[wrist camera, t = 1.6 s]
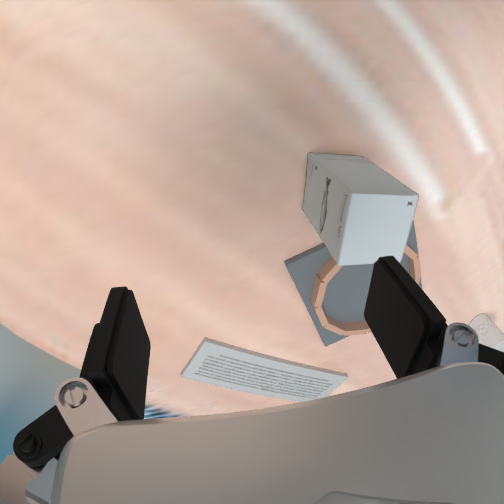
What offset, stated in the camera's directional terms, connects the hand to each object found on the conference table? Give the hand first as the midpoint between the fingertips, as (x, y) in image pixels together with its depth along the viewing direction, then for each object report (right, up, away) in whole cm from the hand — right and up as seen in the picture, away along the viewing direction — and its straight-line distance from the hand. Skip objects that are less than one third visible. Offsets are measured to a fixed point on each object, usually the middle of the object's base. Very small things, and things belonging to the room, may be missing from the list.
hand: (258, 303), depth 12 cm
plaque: (+3, -20, +44) cm, 49 cm away
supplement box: (+9, +10, +26) cm, 29 cm away
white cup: (+52, -15, +48) cm, 72 cm away
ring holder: (+17, -2, +34) cm, 38 cm away
